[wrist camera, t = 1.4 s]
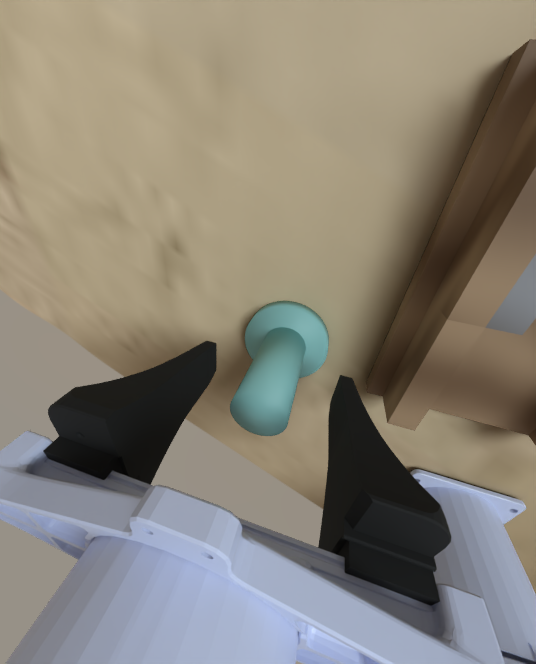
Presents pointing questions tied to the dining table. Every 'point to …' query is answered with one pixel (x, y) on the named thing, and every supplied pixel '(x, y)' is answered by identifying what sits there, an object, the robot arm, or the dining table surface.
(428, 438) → the dining table surface
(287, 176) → the dining table surface
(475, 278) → the rail
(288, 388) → the teal flanged knob
